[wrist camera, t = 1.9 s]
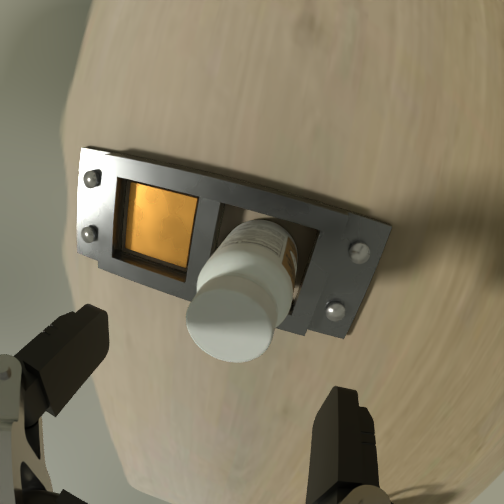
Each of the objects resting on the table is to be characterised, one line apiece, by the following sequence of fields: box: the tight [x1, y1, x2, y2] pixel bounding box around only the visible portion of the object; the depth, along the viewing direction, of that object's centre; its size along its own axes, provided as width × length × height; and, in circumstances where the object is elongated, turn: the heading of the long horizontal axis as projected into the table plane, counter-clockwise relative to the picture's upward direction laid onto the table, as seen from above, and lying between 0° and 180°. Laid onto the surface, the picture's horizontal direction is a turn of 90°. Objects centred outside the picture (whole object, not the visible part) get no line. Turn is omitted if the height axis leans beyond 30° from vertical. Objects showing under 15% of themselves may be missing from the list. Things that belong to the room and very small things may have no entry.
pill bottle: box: [186, 220, 298, 363], centre depth 15 cm, size 4×4×8 cm
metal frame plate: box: [77, 147, 392, 339], centre depth 18 cm, size 8×20×1 cm, turn 77°
